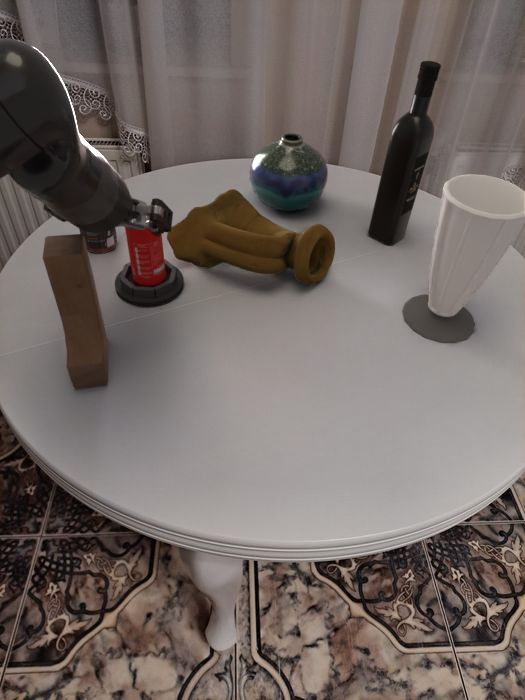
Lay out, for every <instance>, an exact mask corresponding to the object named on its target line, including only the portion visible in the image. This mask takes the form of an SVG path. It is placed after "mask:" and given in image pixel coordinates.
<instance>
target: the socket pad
mask: <svg viewBox="0 0 525 700" xmlns="http://www.w3.org/2000/svg"><path fill="white" fill-rule="evenodd" d="M164 262H165V272H166V277H165V279H164V283H162V284H160V285H158V286H156V287H139V286H138V285H137V283H136V282H135V281H134V279H133V275H132V269H131V262H130V261H129V262H128V263H125V264H124V265H123V267H122V269H121V270H120V271H119V272H118V274H117V275H116V277H115V279H114V288H115V293H116V295H117V297H118V298H119V299H120V300H121V301H123V302H124V303H126V304H128V305H130V306H134V307H138V308H156V307H160V306H165V305H167V304H169V303H171V302H173V301H174V300H176V299H178V297H180V295H181V294H182V292H183V291H184V288H185V277H184V274H183V272H182V271H181V270H180V269H179V268H178V267H176V266H175V265H174V264H172V263H171V262H169V261H168V260H167V259H166V258H164Z"/></svg>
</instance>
